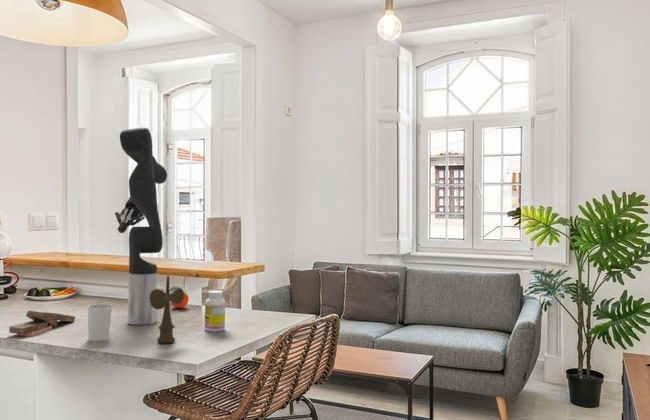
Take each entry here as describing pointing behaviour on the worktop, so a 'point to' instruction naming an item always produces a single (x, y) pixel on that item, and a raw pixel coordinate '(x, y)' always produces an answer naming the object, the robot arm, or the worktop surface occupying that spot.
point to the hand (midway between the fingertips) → (120, 231)
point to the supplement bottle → (215, 312)
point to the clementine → (182, 301)
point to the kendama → (166, 309)
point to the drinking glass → (99, 322)
